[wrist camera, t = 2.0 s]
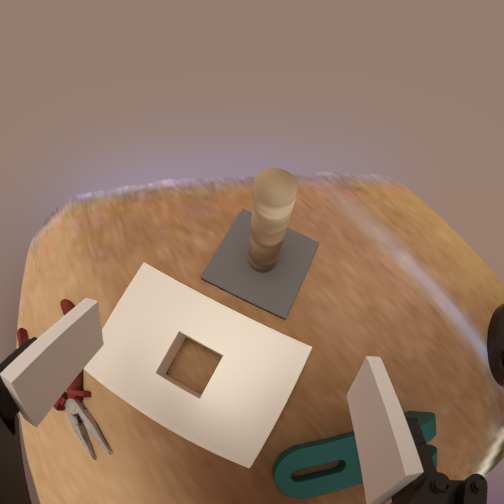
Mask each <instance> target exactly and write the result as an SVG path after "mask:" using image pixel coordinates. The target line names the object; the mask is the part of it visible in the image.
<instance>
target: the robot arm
mask: <svg viewBox="0 0 504 504" xmlns="http://www.w3.org/2000/svg"><path fill="white" fill-rule="evenodd" d="M103 345H104V342H103V336H102V329H101V322H100V314H99V306H98V301H95V300H92V299H89V298H85V299H84V300H83V301H82V302H80V303H79V304H78V305H77V306H75V307H74V308H73V309H72V310H71V311H69V312H68V313H67V314H66V315H64V316H63V317H62V318H61V319H60V320H59V321H57V322H56V323H55V324H54V325H53V326H51V327H50V328H49V329H48V330H47V331H46V332H45V333H43V334H42V335H41V336H40V337H39V338H38V339H37V338H36V337H34V338H32V339H29V340H27V341H25V342H24V343H23V344H22V345H21V346H20V347H19V349H16V350H15V351H14V352H13V354H11V355H10V356H8V357H7V358H6V359H5V360H4V361H3V362H2V363H1V364H0V504H31V500H30V496H29V491H28V487H27V483H26V477H25V472H24V466H23V460H22V452H21V444H20V434H19V419H18V416H17V413H18V412H19V411H20V412H21V414H22V415H23V417H24V419H25V420H27V421H28V422H30V423H31V424H32V425H34V426H35V427H37V426H38V425H39V424H40V422H41V421H42V420H43V418H44V417H45V416H46V415H47V413H48V412H49V411H50V409H51V408H52V407H53V406H54V404H55V403H56V402H57V400H58V399H59V398H60V397H61V395H62V394H63V393H64V392H65V390H66V389H67V388H68V387H69V385H70V384H71V383H72V382H73V381H74V379H75V378H76V377H77V376H78V375H79V373H80V372H81V371H82V370H83V368H84V367H85V366H86V365H87V364H88V363H89V361H90V360H91V359H92V358H93V357H94V355H95V354H96V353H97V352H98V351H99V350H100V348H101V347H102V346H103ZM488 356H489V362H490V367H491V370H492V373H493V375H494V377H495V379H496V381H497V382H498V383H499V384H500V385H502V386H504V304H503V305H501V306H500V307H498V308H497V310H496V311H495V313H494V314H493V317H492V319H491V323H490V327H489V333H488ZM346 396H347V401H348V405H349V410H350V415H351V419H352V424H353V429H354V434H355V439H356V444H357V449H358V455H359V460H360V466H361V472H362V478H363V484H364V491H365V497H366V504H380V503H384V502H385V501H387V500H388V499H390V498H391V497H392V502H393V503H391V504H486V503H487V481H486V480H485V478H484V477H483V476H482V475H480V474H472V475H471V476H469V477H468V478H467V479H466V480H464V481H460V480H449V478H448V477H447V476H446V475H445V474H443V473H439V472H437V470H436V468H435V465H434V462H433V459H432V457H431V454H430V451H429V448H428V446H427V444H426V440H425V438H424V437H423V433H422V430H421V427H420V425H419V424H418V423H417V422H416V421H415V419H414V418H413V417H410V418H405V416H404V413H403V411H402V408H401V406H400V403H399V401H398V398H397V396H396V393H395V391H394V388H393V386H392V383H391V381H390V379H389V376H388V374H387V371H386V369H385V367H384V364H383V362H382V360H381V358H380V357H374V356H366V358H365V360H364V362H363V364H362V366H361V368H360V370H359V372H358V374H357V376H356V378H355V380H354V382H353V384H352V385H351V387H350V389H349V391H348V393H347V395H346Z"/></svg>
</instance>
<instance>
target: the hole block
mask: <svg viewBox="0 0 504 504" xmlns="http://www.w3.org/2000/svg"><path fill="white" fill-rule="evenodd" d="M102 336H103V342H104V345H103V346H102V347H101V348H100V350H99V351H98V352H97V353H96V354H95V355H94V357H93V358H92V359H91V360H90V361H89V363H88V364H87V365H86V366H85V367H84V368H83V369H84V370H86V371H87V372H88V373H89V374H90V375H92V376H93V377H94V378H95V379H96V380H98V381H99V382H100V383H101V384H103V385H104V386H105V387H107V388H108V389H109V390H111V391H112V392H113V393H115V394H116V395H117V396H119V397H120V398H121V399H123V400H124V401H126V402H127V403H128V404H130V405H131V406H133V407H134V408H136V409H137V410H139V411H140V412H142V413H143V414H145V415H146V416H148V417H149V418H151V419H152V420H154V421H156V422H157V423H159V424H161V425H162V426H164V427H166V428H167V429H169V430H171V431H172V432H174V433H176V434H178V435H180V436H181V437H183V438H185V439H187V440H189V441H191V442H193V443H194V444H196V445H198V446H200V447H202V448H204V449H206V450H208V451H211V452H213V453H215V454H217V455H219V456H221V457H223V458H226V459H228V460H230V461H233V462H235V463H237V464H240V465H242V466H245V467H247V468H250V467H251V466H252V464H253V462H254V461H255V459H256V457H257V455H258V454H259V452H260V450H261V449H262V447H263V445H264V443H265V442H266V440H267V438H268V436H269V434H270V433H271V431H272V429H273V427H274V425H275V423H276V421H277V420H278V418H279V416H280V414H281V412H282V410H283V408H284V406H285V404H286V402H287V400H288V398H289V396H290V394H291V392H292V390H293V388H294V386H295V384H296V382H297V380H298V378H299V375H300V373H301V371H302V369H303V367H304V365H305V362H306V360H307V358H308V356H309V354H310V351H311V349H312V347H311V346H308V345H306V344H304V343H302V342H299V341H297V340H295V339H293V338H291V337H288V336H286V335H284V334H282V333H280V332H277V331H275V330H273V329H271V328H269V327H267V326H265V325H263V324H261V323H258V322H256V321H254V320H252V319H250V318H248V317H246V316H244V315H242V314H240V313H238V312H236V311H234V310H232V309H230V308H228V307H226V306H224V305H222V304H220V303H218V302H216V301H214V300H212V299H210V298H208V297H206V296H205V295H203V294H201V293H199V292H197V291H195V290H193V289H191V288H189V287H188V286H186V285H184V284H182V283H180V282H178V281H176V280H175V279H173V278H171V277H169V276H167V275H166V274H164V273H162V272H160V271H158V270H157V269H155V268H153V267H151V266H150V265H148V264H146V263H143V265H142V266H141V268H140V269H139V271H138V272H137V274H136V275H135V277H134V278H133V280H132V282H131V283H130V285H129V286H128V288H127V289H126V291H125V293H124V294H123V296H122V297H121V299H120V301H119V302H118V304H117V306H116V307H115V309H114V311H113V312H112V314H111V316H110V317H109V319H108V321H107V322H106V324H105V326H104V328H103V329H102ZM186 337H187V338H189V339H190V340H192V341H194V342H196V343H198V344H199V345H201V346H203V347H205V348H207V349H209V350H210V351H212V352H214V353H216V354H218V355H220V356H222V359H221V361H220V363H219V364H218V366H217V368H216V370H215V372H214V374H213V375H212V377H211V379H210V381H209V383H208V385H207V386H206V388H205V390H204V392H203V394H202V395H201V394H199V393H197V392H196V391H194V390H192V389H190V388H188V387H187V386H185V385H183V384H181V383H180V382H178V381H176V380H174V379H173V378H171V377H169V376H168V375H166V372H167V371H168V369H169V367H170V365H171V364H172V362H173V360H174V358H175V356H176V355H177V353H178V351H179V349H180V348H181V346H182V344H183V342H184V340H185V339H186Z"/></svg>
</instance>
